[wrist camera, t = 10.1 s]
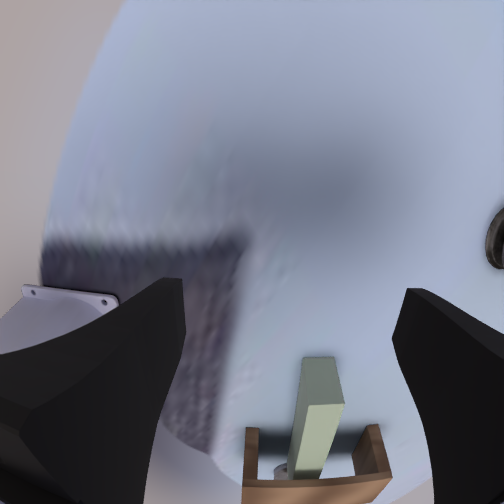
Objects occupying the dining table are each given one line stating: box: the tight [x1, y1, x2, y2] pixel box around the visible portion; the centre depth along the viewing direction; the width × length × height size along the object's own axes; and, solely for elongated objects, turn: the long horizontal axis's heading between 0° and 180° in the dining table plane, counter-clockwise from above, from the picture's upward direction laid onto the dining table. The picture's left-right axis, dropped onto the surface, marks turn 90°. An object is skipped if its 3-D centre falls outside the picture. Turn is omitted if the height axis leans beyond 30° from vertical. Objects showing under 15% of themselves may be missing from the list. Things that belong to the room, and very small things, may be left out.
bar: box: [287, 357, 345, 480], centre depth 24 cm, size 2×16×5 cm, turn 0°
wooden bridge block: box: [241, 424, 393, 504], centre depth 25 cm, size 13×6×7 cm, turn 88°
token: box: [274, 463, 288, 480], centre depth 30 cm, size 4×4×2 cm
